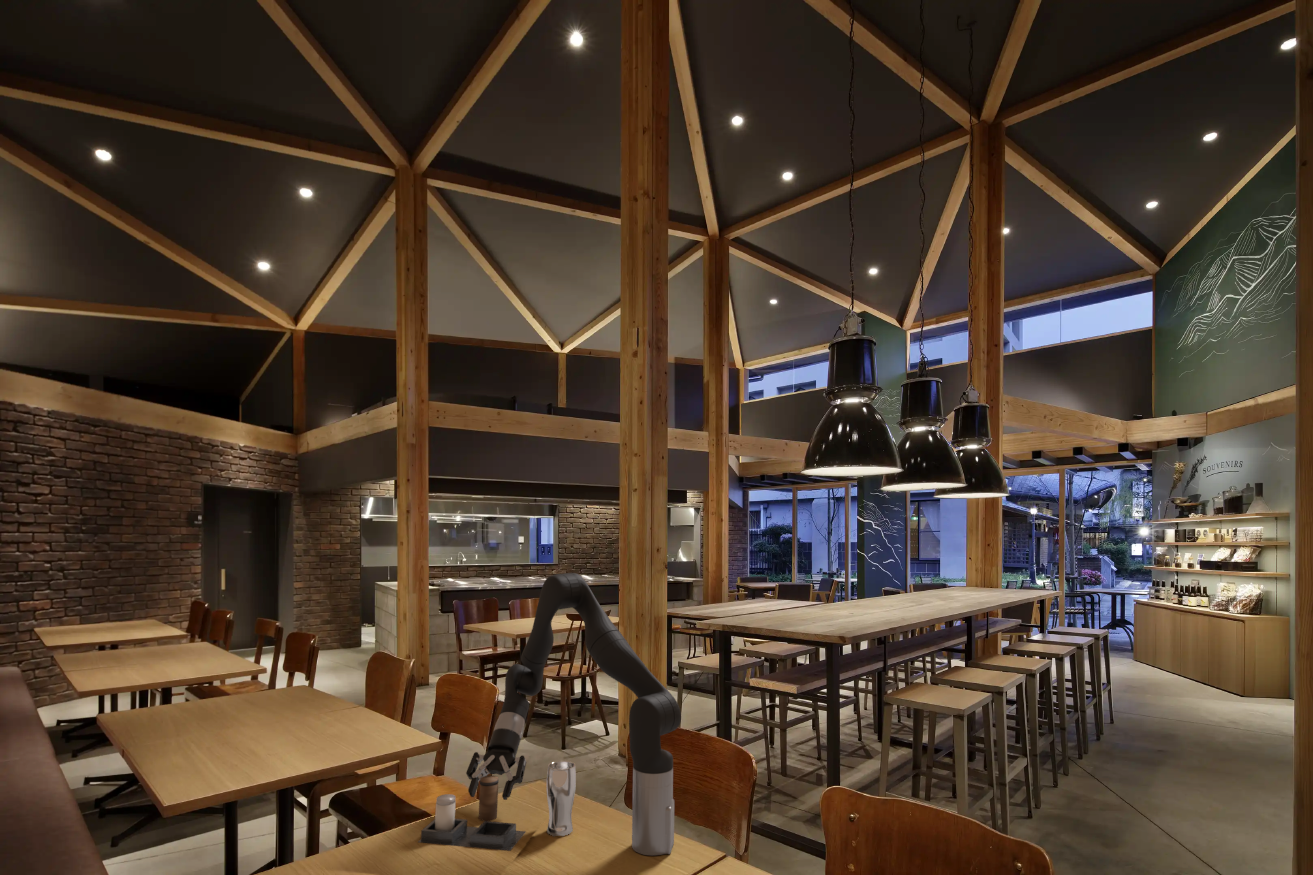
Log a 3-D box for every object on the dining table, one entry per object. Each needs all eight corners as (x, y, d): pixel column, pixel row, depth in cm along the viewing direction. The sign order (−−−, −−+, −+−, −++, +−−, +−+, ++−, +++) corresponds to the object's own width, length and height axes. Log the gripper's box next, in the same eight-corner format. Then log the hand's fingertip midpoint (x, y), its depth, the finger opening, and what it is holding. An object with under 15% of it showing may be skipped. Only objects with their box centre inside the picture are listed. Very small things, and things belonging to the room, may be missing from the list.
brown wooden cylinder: (499, 818, 174) (501, 775, 175) (492, 825, 170) (494, 782, 171) (482, 816, 175) (484, 774, 176) (475, 824, 170) (476, 780, 172)
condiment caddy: (525, 835, 164) (526, 822, 165) (510, 855, 155) (510, 840, 155) (438, 828, 168) (438, 814, 168) (417, 846, 158) (418, 832, 159)
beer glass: (577, 825, 170) (578, 760, 172) (571, 838, 163) (572, 770, 165) (549, 824, 171) (551, 759, 173) (541, 836, 164) (543, 769, 166)
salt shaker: (457, 830, 164) (459, 794, 165) (448, 838, 160) (450, 801, 161) (439, 829, 165) (441, 793, 166) (430, 837, 161) (432, 800, 162)
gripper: (477, 725, 184) (456, 787, 171) (529, 728, 182) (511, 791, 169) (485, 740, 189) (464, 801, 176) (536, 743, 186) (519, 806, 173)
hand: (487, 796), depth 172 cm, fingers open, 8 cm apart
